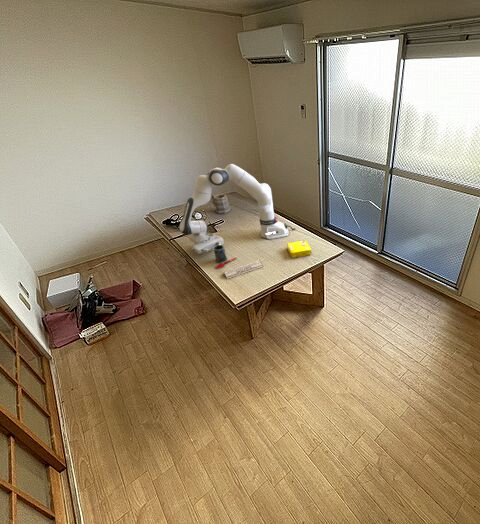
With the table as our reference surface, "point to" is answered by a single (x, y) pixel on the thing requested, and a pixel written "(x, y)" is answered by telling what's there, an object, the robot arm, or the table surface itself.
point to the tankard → (220, 203)
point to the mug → (220, 253)
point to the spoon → (223, 263)
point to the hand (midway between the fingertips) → (215, 248)
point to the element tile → (298, 249)
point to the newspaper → (242, 269)
